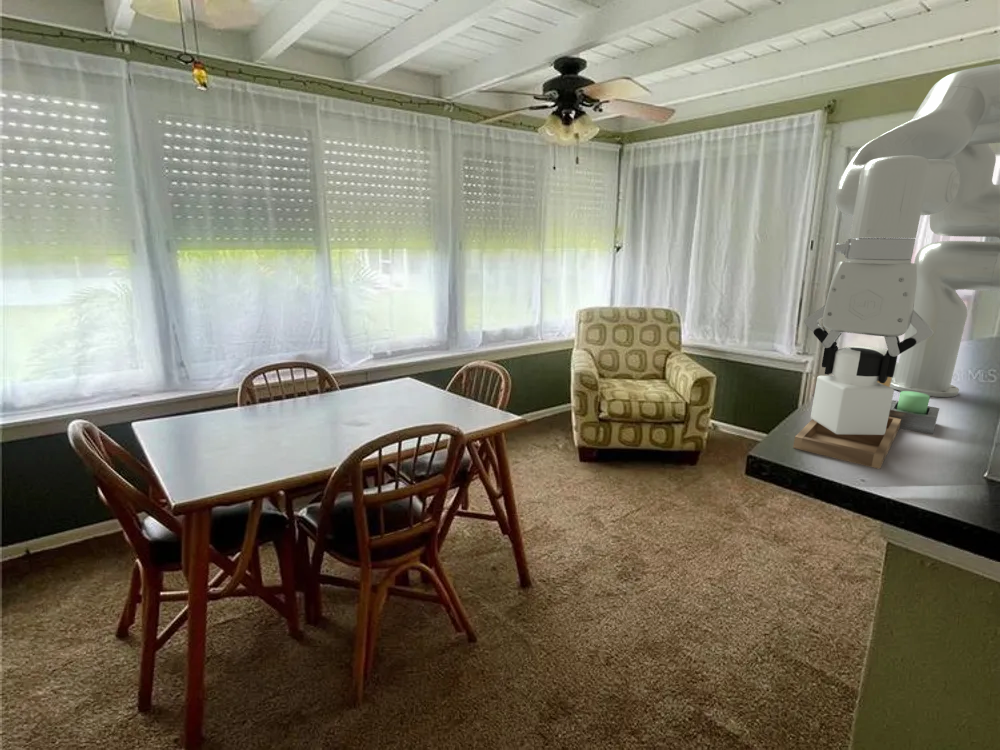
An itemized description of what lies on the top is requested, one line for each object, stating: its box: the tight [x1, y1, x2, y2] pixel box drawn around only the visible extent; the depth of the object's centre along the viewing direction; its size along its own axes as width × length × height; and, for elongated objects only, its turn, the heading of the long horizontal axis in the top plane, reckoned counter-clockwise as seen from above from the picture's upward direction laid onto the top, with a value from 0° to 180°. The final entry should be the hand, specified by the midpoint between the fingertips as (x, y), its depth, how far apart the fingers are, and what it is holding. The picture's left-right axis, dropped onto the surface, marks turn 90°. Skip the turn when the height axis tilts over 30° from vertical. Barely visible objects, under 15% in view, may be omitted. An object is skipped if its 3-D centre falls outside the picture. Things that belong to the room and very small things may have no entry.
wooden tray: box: [792, 417, 901, 470], centre depth 84 cm, size 21×11×3 cm, turn 138°
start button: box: [897, 391, 931, 414], centre depth 90 cm, size 4×4×4 cm
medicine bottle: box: [810, 346, 895, 435], centre depth 78 cm, size 7×7×12 cm
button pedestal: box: [889, 399, 940, 435], centre depth 90 cm, size 7×7×4 cm
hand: (855, 375), depth 77 cm, fingers closed on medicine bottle, 6 cm apart
